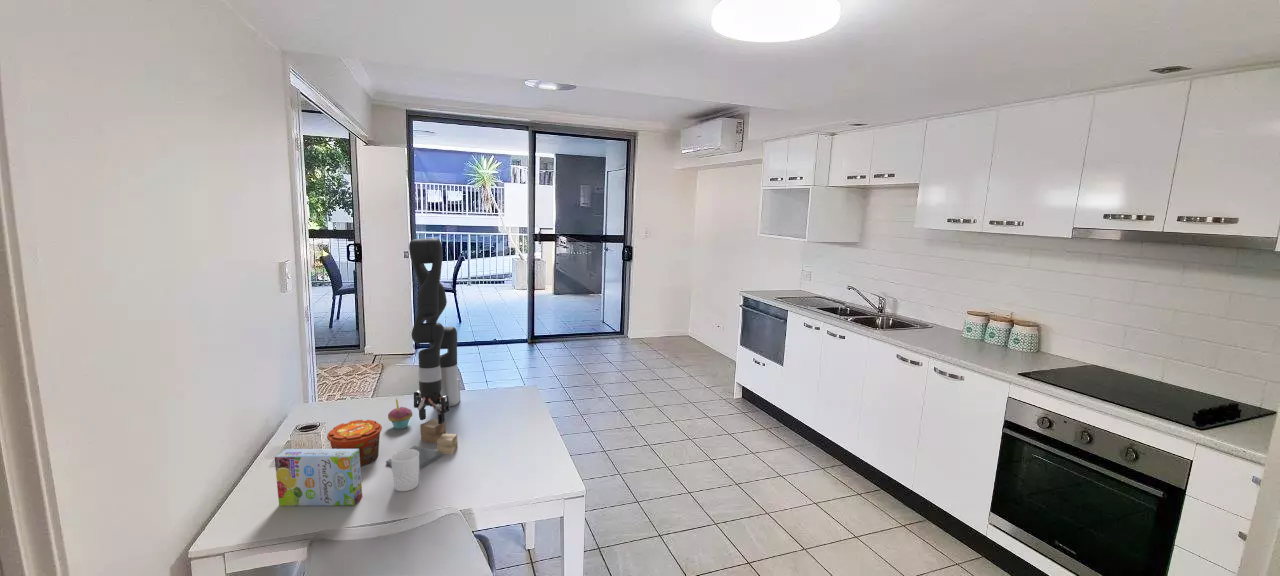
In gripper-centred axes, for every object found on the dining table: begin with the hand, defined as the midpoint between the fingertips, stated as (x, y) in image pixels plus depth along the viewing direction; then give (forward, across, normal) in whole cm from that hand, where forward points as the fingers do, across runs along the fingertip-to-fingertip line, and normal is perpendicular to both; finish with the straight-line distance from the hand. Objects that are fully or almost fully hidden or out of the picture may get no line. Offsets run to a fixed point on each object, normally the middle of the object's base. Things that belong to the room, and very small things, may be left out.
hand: (432, 421), depth 192 cm
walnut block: (+7, 0, 0) cm, 7 cm away
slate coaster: (+7, -6, +14) cm, 17 cm away
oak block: (+7, -11, +4) cm, 14 cm away
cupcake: (+7, +19, -3) cm, 21 cm away
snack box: (+8, 0, +44) cm, 44 cm away
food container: (+7, +12, +22) cm, 26 cm away
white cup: (+8, -16, +27) cm, 33 cm away
